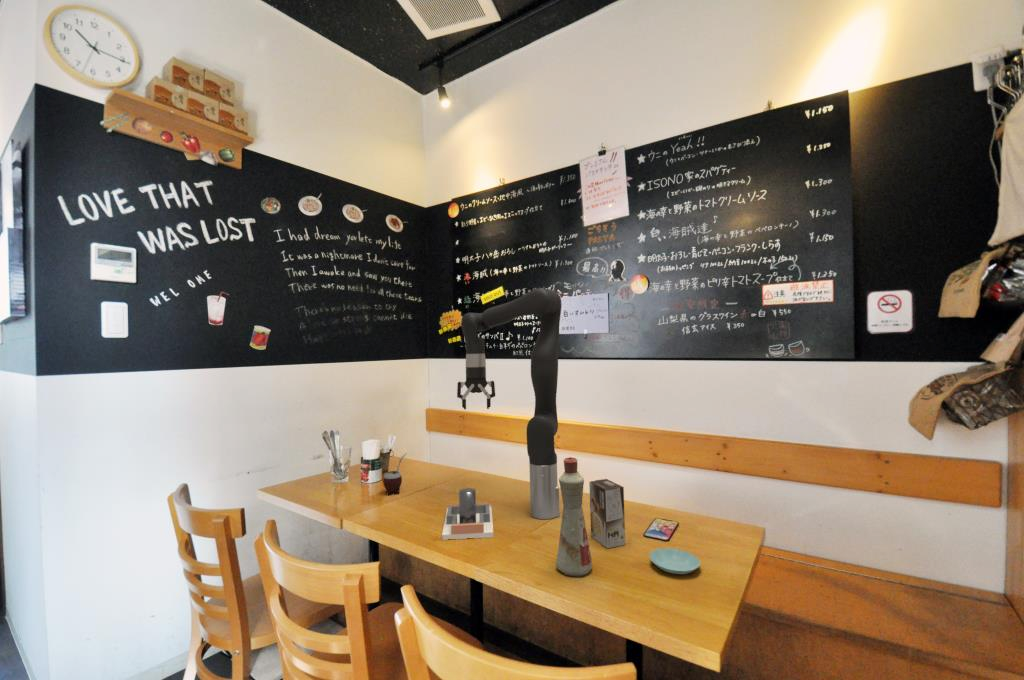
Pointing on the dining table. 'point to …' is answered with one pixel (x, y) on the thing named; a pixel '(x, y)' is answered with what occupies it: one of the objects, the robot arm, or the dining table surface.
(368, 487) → the dining table surface
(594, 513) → the coffee box
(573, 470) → the bottle
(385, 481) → the mate gourd
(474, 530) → the keyhole guide
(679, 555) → the saucer
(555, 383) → the robot arm
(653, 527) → the smartphone
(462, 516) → the metal peg
